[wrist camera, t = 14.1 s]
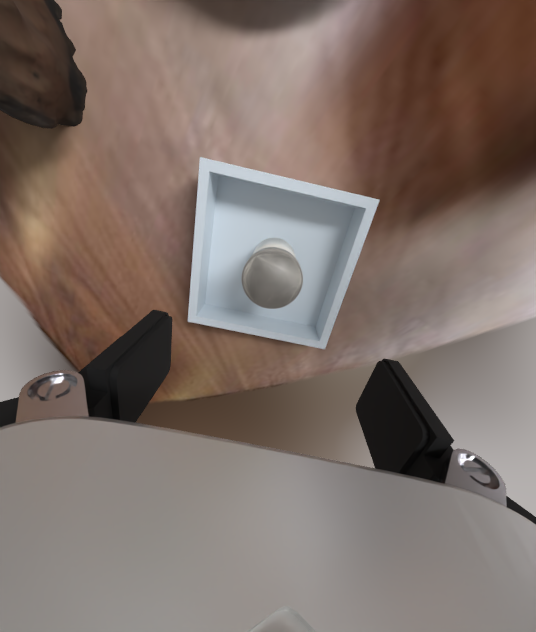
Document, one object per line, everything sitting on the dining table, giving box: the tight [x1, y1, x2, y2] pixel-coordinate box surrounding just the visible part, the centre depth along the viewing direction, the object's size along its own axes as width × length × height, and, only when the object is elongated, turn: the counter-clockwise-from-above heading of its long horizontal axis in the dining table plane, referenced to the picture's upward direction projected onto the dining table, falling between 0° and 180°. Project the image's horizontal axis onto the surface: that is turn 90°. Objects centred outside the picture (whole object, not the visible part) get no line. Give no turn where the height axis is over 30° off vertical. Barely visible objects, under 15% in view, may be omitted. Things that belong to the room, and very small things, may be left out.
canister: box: [242, 238, 303, 309], centre depth 27 cm, size 6×6×9 cm
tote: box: [188, 157, 379, 349], centre depth 30 cm, size 18×18×5 cm
